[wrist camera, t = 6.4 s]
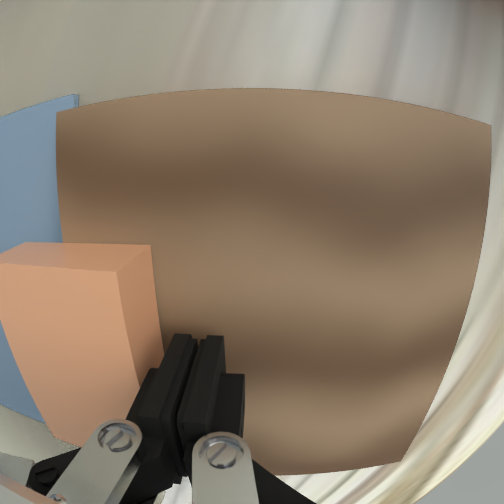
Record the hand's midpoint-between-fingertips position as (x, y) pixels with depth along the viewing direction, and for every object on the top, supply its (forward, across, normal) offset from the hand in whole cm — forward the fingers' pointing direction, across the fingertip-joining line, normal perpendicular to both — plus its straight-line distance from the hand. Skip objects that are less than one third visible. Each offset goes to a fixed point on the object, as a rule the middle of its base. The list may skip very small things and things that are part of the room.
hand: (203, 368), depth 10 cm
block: (0, +5, 0) cm, 5 cm away
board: (+3, -3, 0) cm, 4 cm away
